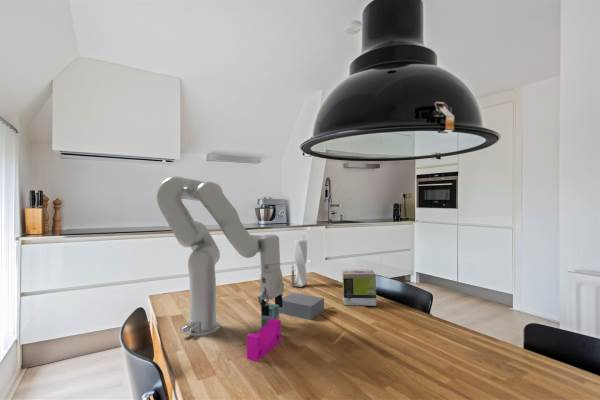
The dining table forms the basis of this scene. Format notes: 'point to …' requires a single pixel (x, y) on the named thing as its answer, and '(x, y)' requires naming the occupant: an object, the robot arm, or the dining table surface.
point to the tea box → (359, 287)
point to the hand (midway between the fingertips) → (272, 310)
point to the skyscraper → (300, 263)
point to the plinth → (302, 306)
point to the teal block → (270, 314)
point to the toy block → (263, 340)
